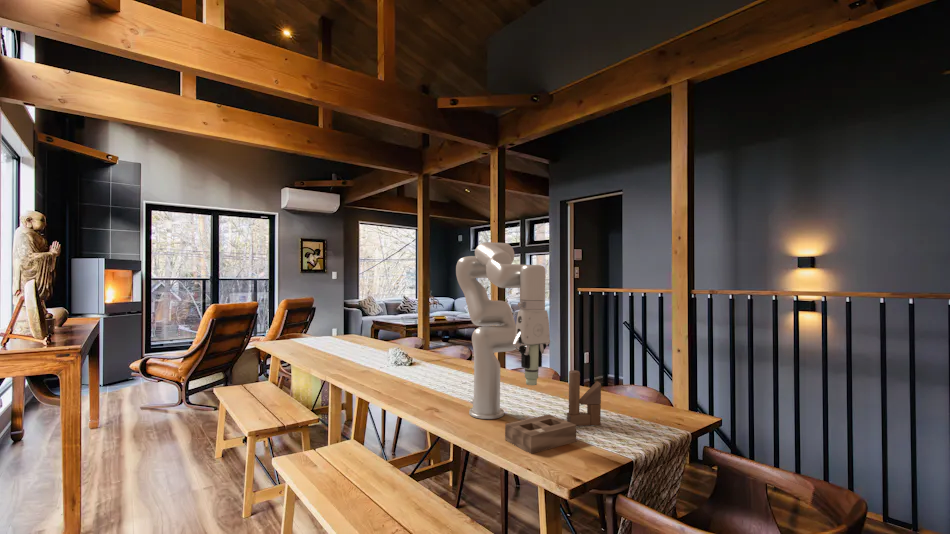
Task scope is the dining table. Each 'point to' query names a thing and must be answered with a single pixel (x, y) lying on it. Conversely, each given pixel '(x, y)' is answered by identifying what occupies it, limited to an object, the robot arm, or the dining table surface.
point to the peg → (532, 365)
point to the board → (540, 433)
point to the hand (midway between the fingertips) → (531, 366)
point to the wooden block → (583, 402)
